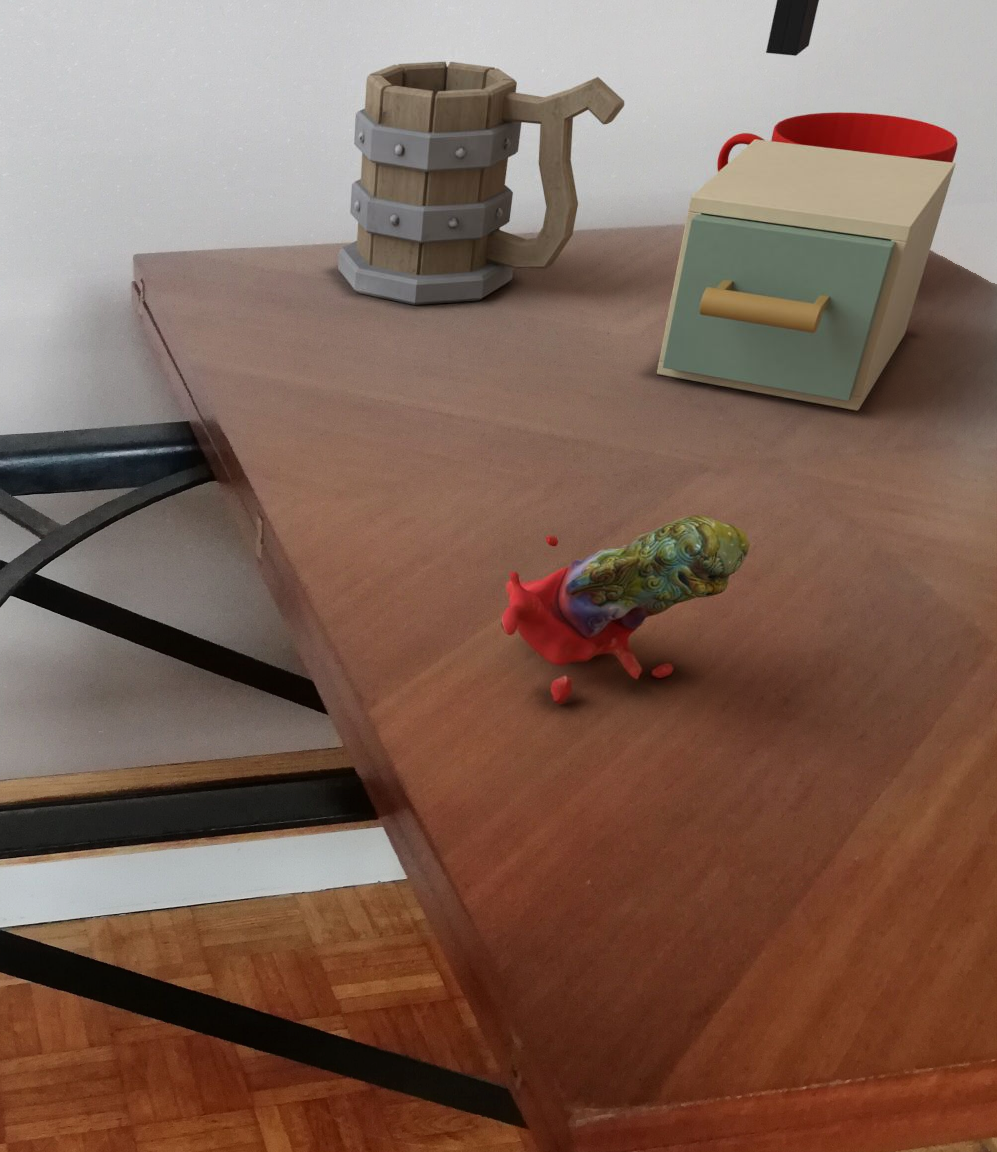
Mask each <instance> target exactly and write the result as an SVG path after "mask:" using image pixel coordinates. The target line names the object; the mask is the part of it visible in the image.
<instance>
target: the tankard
mask: <svg viewBox="0 0 997 1152" xmlns="http://www.w3.org/2000/svg"><path fill="white" fill-rule="evenodd" d="M517 84H518V83H517V81H516V80H515V79H514V78H513V77H511V76H510V75H509V74H507V73H505V72H504V71H503V70H501V69H499V68H495V67H493V66H486V65H480V64H479V65H478V64H472V63H463V62H456V61H450V62H449V64H448V65H447V62H446V61H431V62H430V61H429V62H409V63H398V64H393V65H390V66H387V67H385V68H382V69H379V70H377V71H374V72H372V73H370V74H369V75H367V77H366V83H365V100H364V101H365V102H364V108H362V109H360V110H357V112H355V118H354V119H355V122H354V139H353V144H354V146H355V147H356V148H357V149H358V150H359V151H360V152H361V167H360V178H359V179H357V180H355V181H353V182H352V183H351V191H350V210H349V213H350V214H351V216H352V217H353V218H354V219H355V220H356V222H357V233H356V234H357V236H356V241H353V242H352V243H349V244H348V245H346V246H344V247H342V248H340V250H339V251H338V260H337V262H338V263H337V269H338V271H339V272H340V273H341V275H342V276H343V277H344V278H345V280H346V281H347V282H348V283H349V284H350V286H351V287H352V289H353V290H354V291H355V292H356V293H357V294H362V295H366V296H371V297H376V298H381V299H386V300H390V301H394V302H399V303H403V304H408V305H414V306H418V305H419V306H421V305H433V304H446V303H448V304H449V303H460V302H461V303H462V302H474V301H476V302H477V301H480V300H482V299H483V298H485V297H487V296H488V295H490V294H491V293H493V292H495V291H496V290H498V289H500V288H501V287H503V286H504V285H506V284H508V283H509V282H511V281H512V280H513V274H514V269H516V270H517V269H521V270H522V269H524V270H525V269H526V270H528V269H531V270H532V269H533V270H534V269H537V270H539V269H540V270H541V269H542V270H543V269H544V270H545V269H548V268H549V267H552V266H553V264H554V263H555V261H556V260H557V258H558V257H559V255H560V254H561V252H562V251H563V249H564V248H565V247H566V245H567V244H568V242H569V241H570V240H571V238H572V236H573V235H574V234H573V233H574V228H575V224H576V217H577V211H578V207H579V201H578V195H577V189H576V184H575V177H574V171H573V165H572V144H573V143H572V142H573V127H574V126H573V125H574V118H576V117H577V116H579V115H581V114H583V113H585V112H587V111H589V112H590V113H591V114H592V115H593V117H595V118H596V119H597V120H598V121H599V122H600V123H601V125H608V124H610V123H612V122H613V121H614V120H615V119H616V117H617V116H618V115H619V113H620V112H621V111H622V109H623V108H624V106H625V100H624V99H623V98H622V97H621V96H619V94H618V93H616V92H615V91H614V90H613V89H612V88H611V87H610V86H609V85H608V84H606V82H604V81H603V80H602V79H601V78H600V77H599V76H596V77H595V78H591V79H590V80H588V81H585V82H582V83H581V84H578V85H576V86H574V87H571V88H569V89H566V90H562V91H559V92H557V93H553V94H550V95H547V96H540V95H539V96H538V95H533V94H529V93H528V94H526V93H521V92H517ZM523 123H525V124H535V125H539V147H538V168H539V169H538V170H539V174H540V179H541V185H542V190H543V196H544V203H545V206H546V207H545V214H544V218H543V224H542V228H541V229H540V231H539V233H538V234H537V236H536V237H533V238H524V237H521V236H518V235H516V234H512V233H510V232H507V231H504V230H501V228H502V227H504V226H506V225H507V224H508V223H510V221H511V212H512V204H513V195H514V192H513V190H512V189H511V188H509V186H507V185H506V178H507V171H508V162H509V161H508V160H509V158H510V157H513V156H514V155H516V154H517V153H518V152H519V147H520V139H521V131H522V130H521V129H522V124H523Z"/></svg>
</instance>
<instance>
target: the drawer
mask: <svg viewBox="0 0 997 1152" xmlns="http://www.w3.org/2000/svg"><path fill="white" fill-rule="evenodd" d="M895 243H896V242H895V241H891V239H884V238H876V237H869V236H862V235H855V234H848V233H840V232H833V231H826V230H819V229H812V228H804V227H797V226H790V225H783V224H776V223H768V222H761V221H754V220H747V219H739V218H732V217H725V216H718V215H715V216H708V215H701V214H697V215H696V216H694V217H693V218H692V220H691V225H690V230H689V235H688V240H687V246H686V251H685V256H684V261H683V266H682V271H681V276H680V281H679V286H678V292H677V297H676V302H675V307H674V312H673V317H672V322H671V327H670V332H669V338H668V343H667V348H666V353H665V358H664V363H663V368H667V369H673V370H678V371H684V372H690V373H695V374H701V375H706V376H712V377H717V378H723V379H728V380H734V381H739V382H745V383H751V384H756V385H762V386H767V387H773V388H778V389H784V390H789V391H795V392H800V393H806V394H812V395H817V396H823V397H828V398H834V399H839V400H845V401H849V400H850V398H851V396H852V395H853V392H854V388H855V384H856V381H857V377H858V374H859V370H860V367H861V363H862V360H863V356H864V353H865V349H866V346H867V342H868V338H869V335H870V331H871V328H872V324H873V321H874V317H875V314H876V310H877V307H878V303H879V299H880V296H881V292H882V289H883V285H884V282H885V278H886V275H887V271H888V268H889V264H890V261H891V257H892V253H893V250H894V246H895Z"/></svg>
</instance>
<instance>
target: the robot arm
mask: <svg viewBox="0 0 997 1152" xmlns="http://www.w3.org/2000/svg"><path fill="white" fill-rule="evenodd" d="M819 2H820V0H776V3H775V8H774V13H773V17H772V23H771V27H770V32H769V36H768V41H767V45H766V50H765V54H773V55H783V56H792V57H793V56H794V57H797V56H798V55H799V54H800V53H801V52H803V51H804V50H805V49H807V48H808V47H809V46H810V42H811V37H812V34H813V33H812V32H813V29H814V24H815V20H816V15H817V11H818V6H819Z"/></svg>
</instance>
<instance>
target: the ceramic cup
mask: <svg viewBox="0 0 997 1152" xmlns="http://www.w3.org/2000/svg"><path fill="white" fill-rule="evenodd" d="M771 135H772V136H771V140H770V141H773V142H781V143H790V144H798V145H807V146H815V147H824V148H832V149H841V150H849V151H858V152H866V153H875V154H883V155H892V156H900V157H909V158H917V159H926V160H934V161H942V162H951V163H954V159H955V157H956V153H957V148H958V138H957V137H956V135H954V133H952V132H951V131H949V130H948V129H946V128H944V127H940V126H939V125H935V124H932V123H929V122H925V121H922V120H917V119H912V118H907V117H903V116H902V117H901V116H895V115H888V114H879V113H867V112H866V113H865V112H840V111H839V112H819V113H817V112H816V113H808V114H807V113H806V114H801V115H796V116H792V117H788V118H785V119H782V120H781V121H778V123H776V124H775V125H774V127H773V130H772V134H771ZM755 139H756V140H765V139H764V138H763V137H761V136H759V135H757V134H755V133H754V134H753V133H751V132H749V133H748V132H742V133H739V134H735V135H733V136H731V137H730V138H729V139H727V140H726V141H725V143H724V144H723V146H722V147H721V149H720V151H719V153H718V157H717V173H718V172H719V171H720V170H721V169H722V168H724V167H725V166H726V165H727V164H728V163H729V157H730V154H731V152H732V150H733V148H735V147H736V146H737V145H747V146H748V145H749V144H750V143H751V142H753V141H754V140H755Z"/></svg>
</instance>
